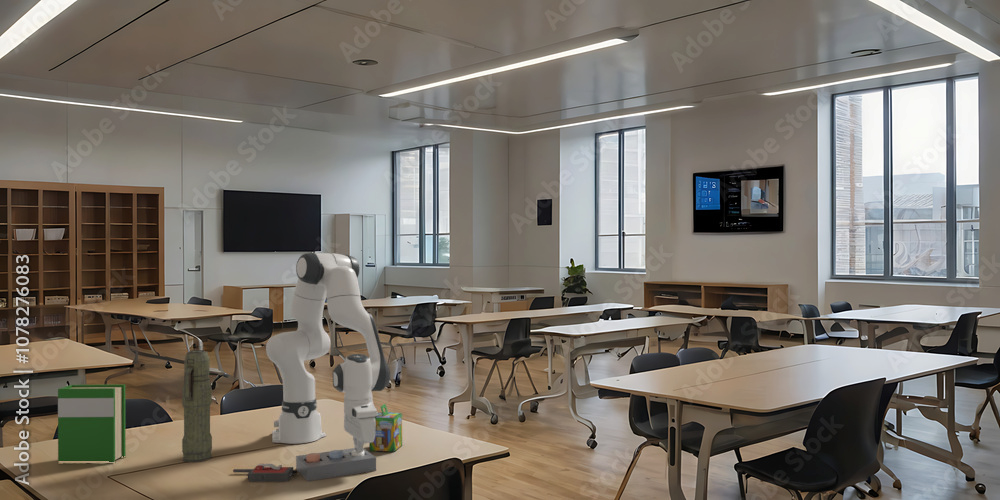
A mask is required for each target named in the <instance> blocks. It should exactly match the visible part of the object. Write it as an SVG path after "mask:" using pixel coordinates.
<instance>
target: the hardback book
mask: <svg viewBox="0 0 1000 500" xmlns="http://www.w3.org/2000/svg"><path fill="white" fill-rule="evenodd" d="M126 441H127V440H126V384H123V383H122V384H116V383H115V384H70V385H66V386H63V387H60V388H58V389H57V462H58V461H109V462H114V461H115V462H116V460H118V459H121V458H120V457H122V456H123V457H124V456H127V454H126V448H127V447H126V443H127V442H126Z"/></svg>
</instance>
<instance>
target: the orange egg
mask: <svg viewBox="0 0 1000 500" xmlns="http://www.w3.org/2000/svg"><path fill="white" fill-rule="evenodd" d="M318 453H319V452H317V453H316V452H312V453H308V454H305V455H306V462H307V463H312V462H319V461H320V454H318Z"/></svg>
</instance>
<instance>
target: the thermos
mask: <svg viewBox="0 0 1000 500" xmlns="http://www.w3.org/2000/svg"><path fill="white" fill-rule="evenodd" d="M183 361H184V362H183V363H184V365H183V366H184V367H183V368H184V371H183V373H184V375H183V377H184V381H183V387H182V389H181V390H182V392H181V393H182V396H181V398H182V399H181V400H182V408H183V432H184V433H183V437H182V441H181V447H182V448H181V449H182V451H181V452H182V461H183V462H186V463H197V462H205V461H208V460H210V459H211V458H212V449H213V436H212V432H211V404H212V403H213V402H212V400H213V399H212V396H213V395H212V393H213V392H212V390H213V389H212V385H211V381H210V380H211V379H210V356H209V353H208V351H205V350H203V349H202V350H201V349H200V350H199V349H197V350H189V352H187V353H186V355H185V357H184V360H183Z"/></svg>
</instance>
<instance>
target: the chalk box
mask: <svg viewBox="0 0 1000 500" xmlns="http://www.w3.org/2000/svg"><path fill="white" fill-rule="evenodd" d="M384 410H385V411H384ZM375 422H376V426H375V439H374V442H372V443H368V445H369V450H368V452H391V453H392V452H393V453H394V452H396V451H397V450H399V449H400V448H402V446H403V413H401V412H391V411H390V412H389V411H388V407H387V404H386V403H384V404H382V405H381V406H380V411H379V412H378V411H377V416H375Z"/></svg>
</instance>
